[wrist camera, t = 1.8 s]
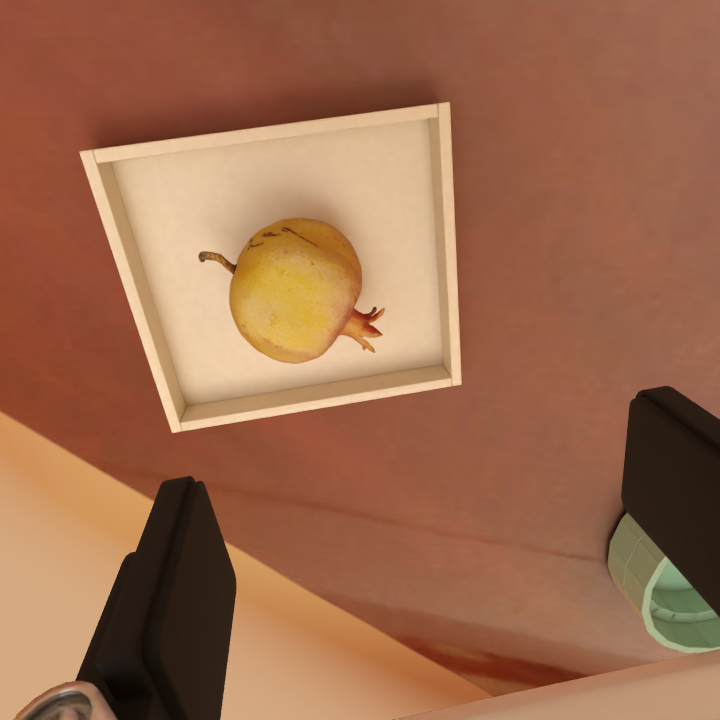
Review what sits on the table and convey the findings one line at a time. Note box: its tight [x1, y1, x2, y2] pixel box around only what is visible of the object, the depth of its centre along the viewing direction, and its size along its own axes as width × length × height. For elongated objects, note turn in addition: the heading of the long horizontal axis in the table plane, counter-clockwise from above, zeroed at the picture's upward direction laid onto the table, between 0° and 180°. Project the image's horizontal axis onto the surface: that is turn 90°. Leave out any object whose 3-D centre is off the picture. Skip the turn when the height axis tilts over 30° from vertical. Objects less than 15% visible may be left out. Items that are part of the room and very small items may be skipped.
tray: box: [79, 102, 462, 433], centre depth 28 cm, size 17×15×2 cm
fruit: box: [198, 218, 385, 364], centre depth 25 cm, size 7×7×10 cm
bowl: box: [607, 512, 720, 653], centre depth 39 cm, size 15×15×5 cm
